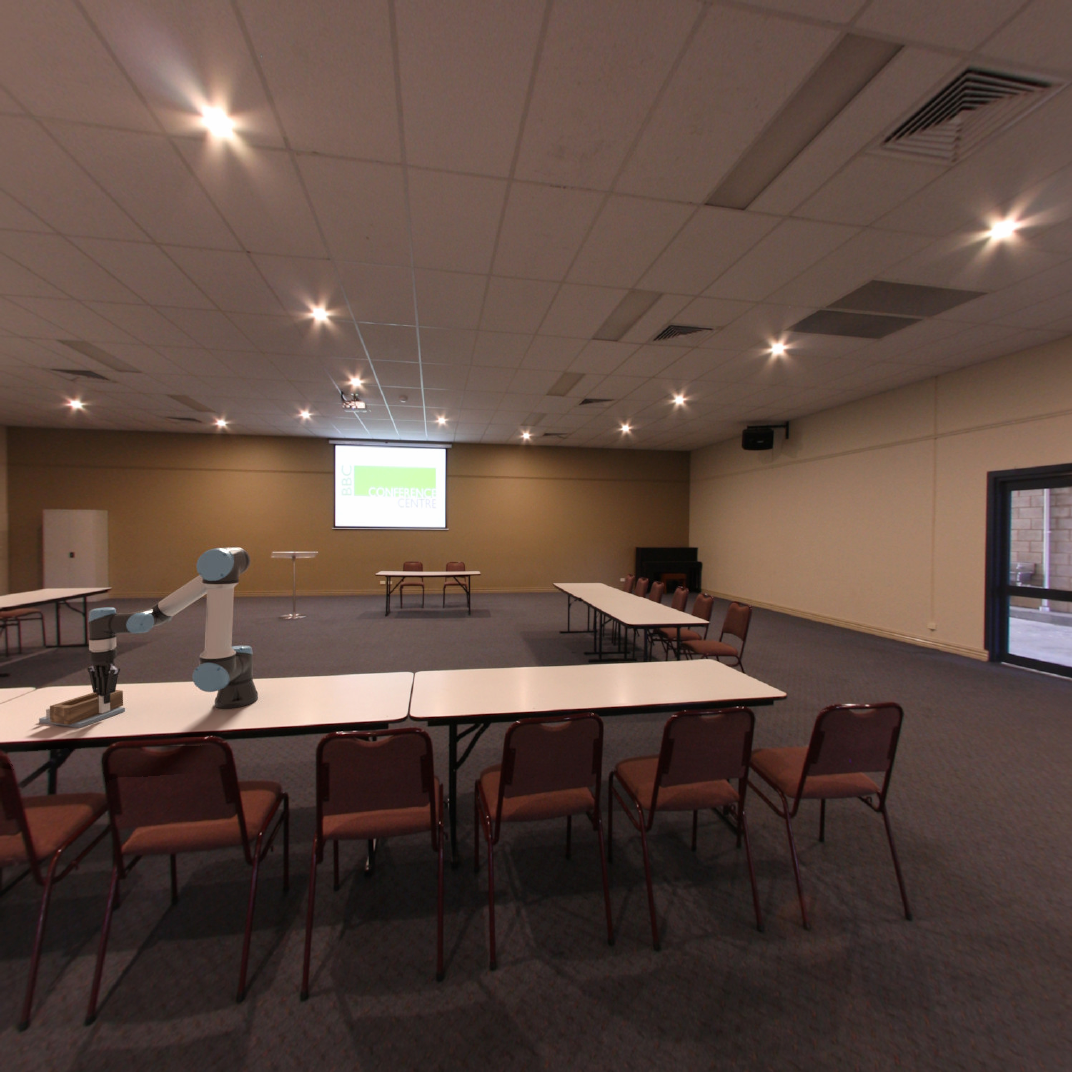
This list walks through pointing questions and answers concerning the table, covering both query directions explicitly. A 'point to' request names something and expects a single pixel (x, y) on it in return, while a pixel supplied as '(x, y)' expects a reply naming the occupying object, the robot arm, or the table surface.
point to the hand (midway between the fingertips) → (104, 711)
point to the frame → (82, 708)
